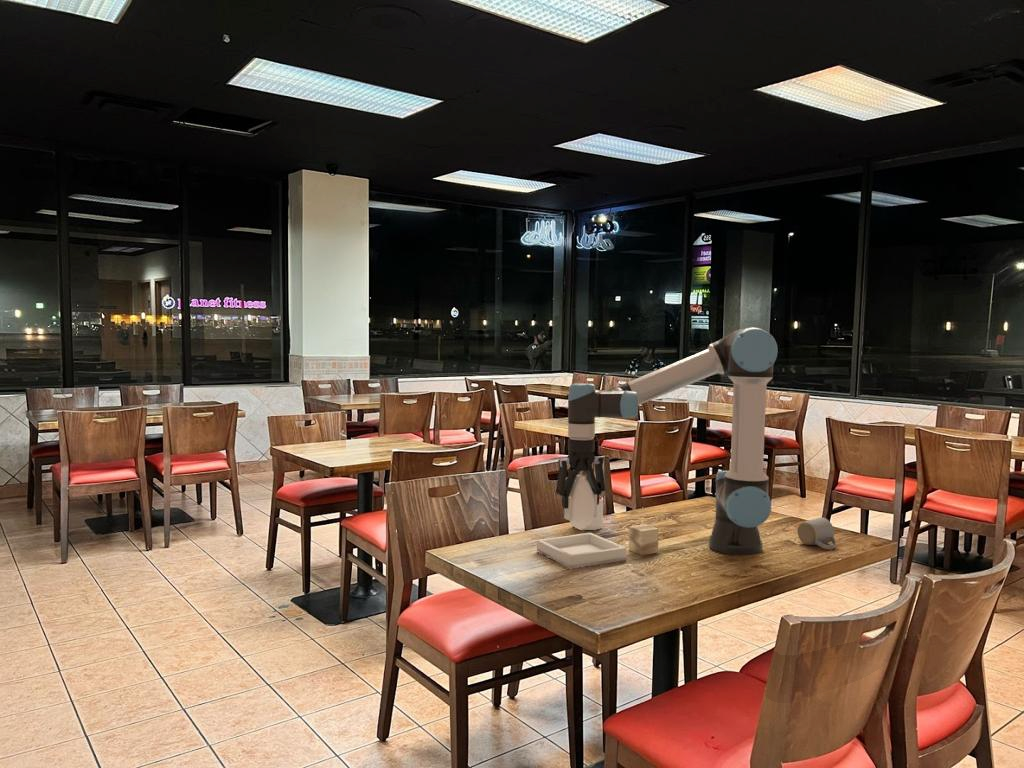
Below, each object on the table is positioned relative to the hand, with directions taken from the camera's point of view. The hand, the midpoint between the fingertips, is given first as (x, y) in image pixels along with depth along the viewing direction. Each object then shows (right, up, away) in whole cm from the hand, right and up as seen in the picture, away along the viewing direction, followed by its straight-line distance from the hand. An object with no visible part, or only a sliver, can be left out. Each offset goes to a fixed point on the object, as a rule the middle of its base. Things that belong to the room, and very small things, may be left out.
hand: (580, 517), depth 209 cm
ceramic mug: (+73, -11, +12) cm, 74 cm away
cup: (+5, -9, +32) cm, 34 cm away
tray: (0, -11, +1) cm, 11 cm away
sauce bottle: (0, -3, 0) cm, 3 cm away
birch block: (+19, -11, +6) cm, 22 cm away
